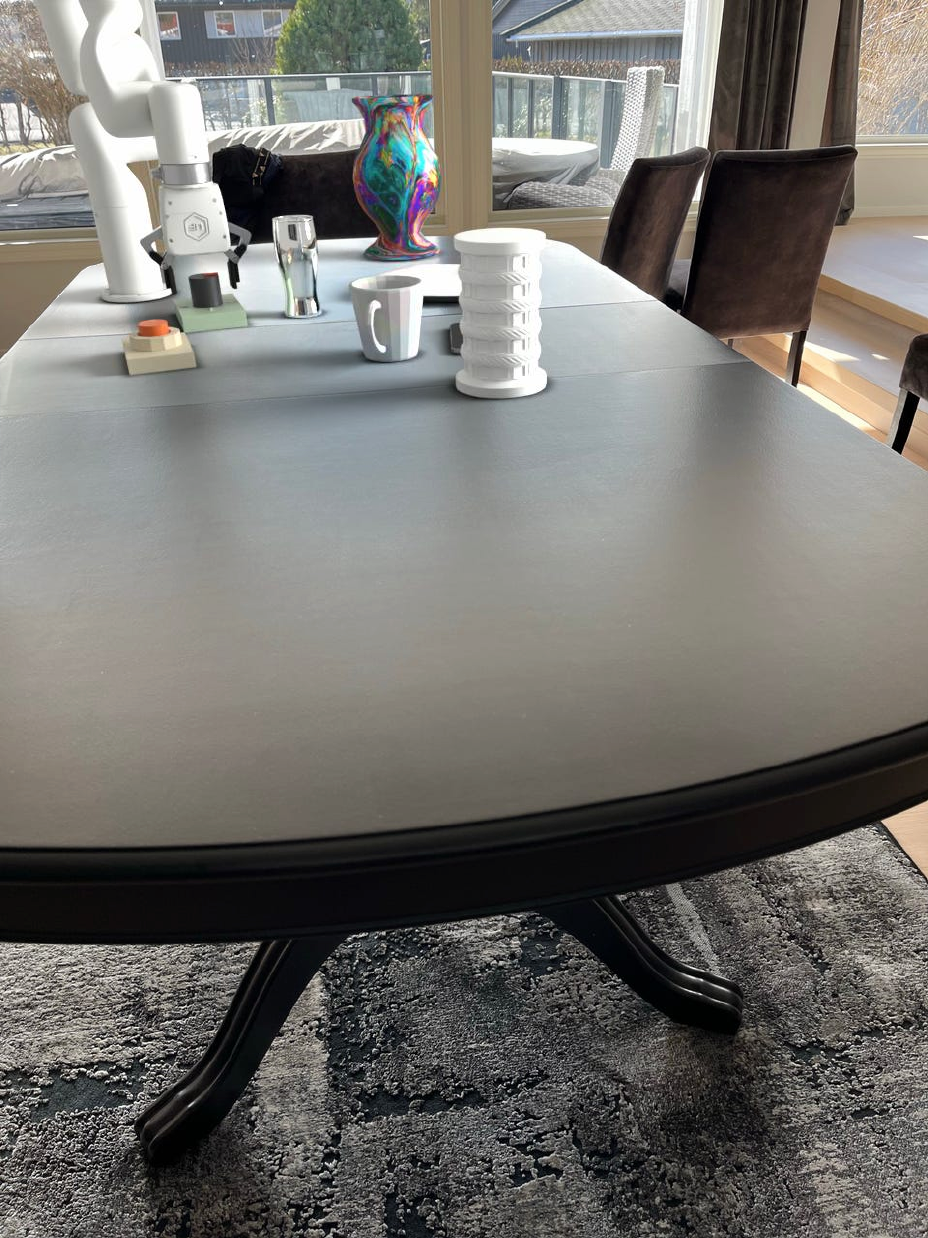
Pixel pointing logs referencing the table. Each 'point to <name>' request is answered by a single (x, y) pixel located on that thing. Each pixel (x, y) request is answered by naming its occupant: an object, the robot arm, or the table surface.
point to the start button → (153, 328)
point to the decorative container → (500, 312)
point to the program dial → (205, 290)
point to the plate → (434, 280)
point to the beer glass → (297, 263)
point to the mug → (388, 315)
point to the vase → (396, 174)
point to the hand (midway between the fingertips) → (204, 290)
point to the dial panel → (210, 315)
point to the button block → (158, 352)
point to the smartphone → (456, 338)
